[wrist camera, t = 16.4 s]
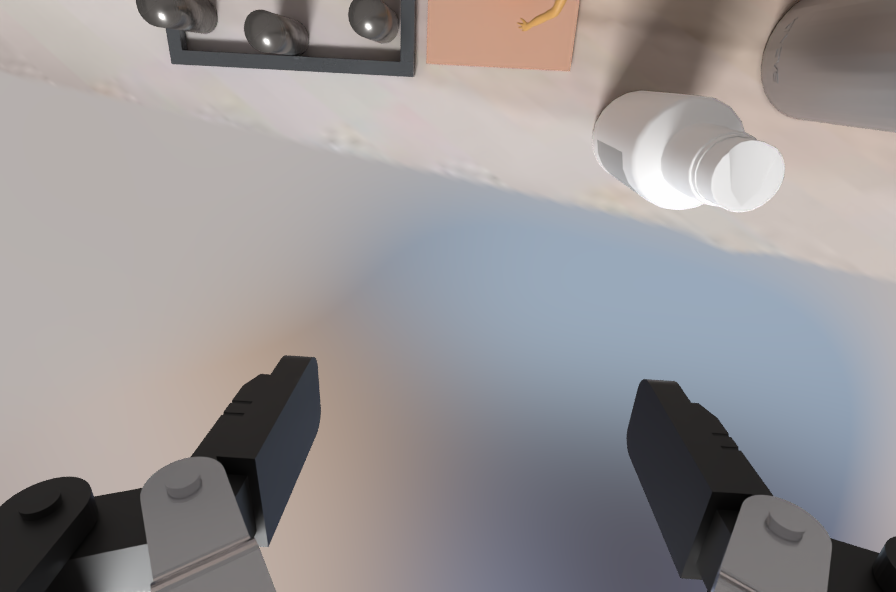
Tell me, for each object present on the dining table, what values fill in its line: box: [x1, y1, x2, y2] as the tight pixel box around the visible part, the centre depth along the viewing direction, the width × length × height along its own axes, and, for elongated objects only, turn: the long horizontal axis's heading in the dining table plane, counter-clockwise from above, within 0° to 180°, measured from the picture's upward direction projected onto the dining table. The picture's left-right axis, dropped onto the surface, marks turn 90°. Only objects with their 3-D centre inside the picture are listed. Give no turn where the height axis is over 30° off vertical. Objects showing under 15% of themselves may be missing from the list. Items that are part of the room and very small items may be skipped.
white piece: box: [592, 90, 785, 212], centre depth 32 cm, size 7×7×18 cm
